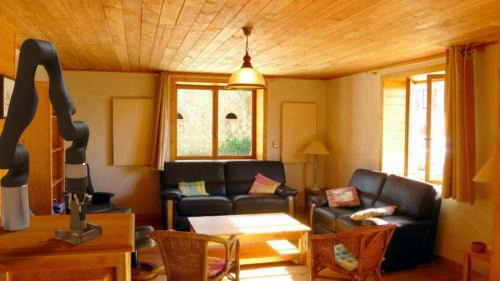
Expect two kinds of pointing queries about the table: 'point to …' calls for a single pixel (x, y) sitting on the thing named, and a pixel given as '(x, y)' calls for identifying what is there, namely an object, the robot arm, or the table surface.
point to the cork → (76, 217)
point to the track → (79, 234)
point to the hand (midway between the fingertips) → (78, 219)
